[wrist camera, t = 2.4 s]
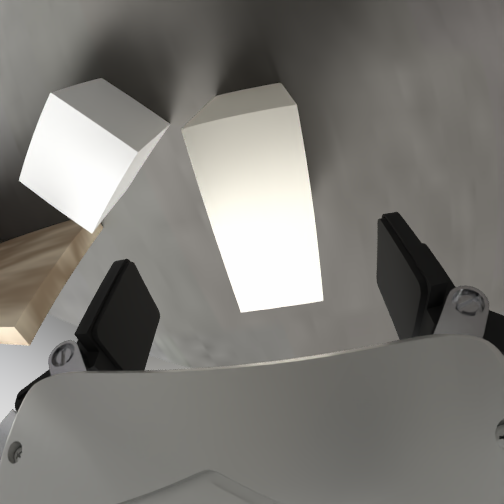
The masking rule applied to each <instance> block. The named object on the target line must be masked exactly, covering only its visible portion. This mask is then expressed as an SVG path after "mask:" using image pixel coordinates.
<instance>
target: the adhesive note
mask: <svg viewBox="0 0 504 504" xmlns="http://www.w3.org/2000/svg"><path fill="white" fill-rule="evenodd" d="M169 125H170V123H168V122H167V121H165V120H164V119H162V118H161V117H159V116H158V115H157V114H155V113H154V112H152V111H151V110H149V109H148V108H146V107H145V106H143V105H142V104H140V103H139V102H138V101H136V100H135V99H133V98H132V97H130V96H129V95H127V94H126V93H124V92H123V91H121V90H119V89H118V88H116V87H115V86H113V85H112V84H110V83H109V82H107V81H106V80H104V79H103V78H99V79H95V80H91V81H87V82H84V83H80V84H76V85H73V86H70V87H66V88H63V89H60V90H57V91H54V92H51V93H50V95H49V97H48V99H47V102H46V104H45V106H44V109H43V111H42V114H41V116H40V119H39V121H38V124H37V126H36V129H35V132H34V134H33V137H32V140H31V143H30V146H29V149H28V152H27V155H26V158H25V161H24V164H23V168H22V171H21V175H20V178H19V181H20V182H21V183H23V184H24V185H25V186H27V187H28V188H29V189H31V190H32V191H33V192H34V193H36V194H37V195H38V196H40V197H41V198H43V199H44V200H45V201H47V202H48V203H49V204H51V205H52V206H53V207H55V208H56V209H58V210H59V211H60V212H62V213H63V214H64V215H66V216H67V217H69V218H70V219H72V220H73V221H74V222H76V223H77V224H79V225H80V226H82V227H83V228H84V229H86V230H87V231H89V232H90V233H93V232H94V231H95V229H96V228H97V227H98V225H99V224H100V223H101V221H102V220H103V219H104V218H105V216H106V215H107V214H108V212H109V211H110V210H111V209H112V207H113V206H114V205H115V204H116V202H117V201H118V200H119V199H120V198H121V196H122V195H123V194H124V193H125V192H126V190H127V189H128V187H129V186H130V184H131V182H132V181H133V179H134V178H135V176H136V174H137V173H138V171H139V170H140V168H141V166H142V165H143V163H144V162H145V160H146V159H147V157H148V156H149V154H150V153H151V151H152V150H153V148H154V147H155V145H156V144H157V142H158V141H159V139H160V138H161V137H162V135H163V134H164V132H165V131H166V129H167V128H168V127H169Z"/></svg>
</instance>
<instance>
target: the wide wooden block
mask: <svg viewBox="0 0 504 504" xmlns="http://www.w3.org/2000/svg"><path fill="white" fill-rule="evenodd" d="M102 229H103V227H102V225H101V223H100V224H99V225H98V227H97V228H96V229H95V231H94V232H93V233H90V232H89V231H87V230H86V229H84V228H83V227H82V226H80V225H79V224H77V223H76V222H74V221H73V220H68V221H65V222H62V223H59V224H55V225H52V226H49V227H46V228H43V229H40V230H37V231H34V232H31V233H28V234H25V235H22V236H19V237H16V238H14V239H11V240H8V241H5V242H3V243H0V344H13V345H30V344H31V342H32V340H33V339H34V337H35V335H36V333H37V331H38V329H39V328H40V326H41V324H42V322H43V320H44V318H45V317H46V315H47V313H48V312H49V310H50V308H51V307H52V305H53V303H54V302H55V300H56V298H57V297H58V295H59V293H60V292H61V290H62V288H63V287H64V285H65V284H66V282H67V280H68V279H69V277H70V276H71V274H72V273H73V271H74V270H75V268H76V267H77V265H78V264H79V262H80V261H81V259H82V258H83V256H84V255H85V253H86V252H87V250H88V249H89V247H90V246H91V245H92V243H93V242H94V240H95V239H96V238H97V236H98V235H99V233H100V232H101V231H102Z"/></svg>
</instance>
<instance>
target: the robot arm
mask: <svg viewBox="0 0 504 504" xmlns="http://www.w3.org/2000/svg"><path fill="white" fill-rule="evenodd" d="M377 284H378V287H379V289H380V292H381V294H382V296H383V299H384V301H385V304H386V306H387V308H388V311H389V313H390V316H391V318H392V321H393V323H394V326H395V328H396V331H397V334H398V336H399V339H400V340H397V341H392V342H387V343H382V344H377V345H372V346H366V347H361V348H355V349H350V350H344V351H339V352H333V353H327V354H321V355H314V356H308V357H301V358H294V359H286V360H279V361H270V362H262V363H253V364H243V365H233V366H221V367H208V368H193V369H175V370H150V371H149V370H147V371H144V370H145V366H146V363H147V359H148V356H149V352H150V349H151V346H152V342H153V339H154V336H155V332H156V329H157V326H158V323H159V319H160V313H159V310H158V308H157V306H156V304H155V302H154V301H153V299H152V297H151V295H150V293H149V291H148V289H147V287H146V285H145V283H144V281H143V280H142V278H141V276H140V274H139V272H138V270H137V268H136V266H135V264H134V263H133V262H130V260H128V259H124V260H119V261H115V262H114V263H113V264H112V266H111V268H110V269H109V271H108V273H107V275H106V276H105V278H104V280H103V282H102V283H101V285H100V287H99V289H98V291H97V292H96V294H95V296H94V298H93V300H92V301H91V303H90V305H89V307H88V309H87V311H86V313H85V315H84V317H83V318H82V320H81V322H80V324H79V326H78V328H77V331H76V332H75V336H76V337H77V338H78V341H77V343H76V342H75V341H72V340H68V341H64V342H62V343H60V344H59V345H58V346H56V347H55V348H54V350H53V351H52V352H51V354H50V356H49V361H48V364H49V370H48V371H46V372H45V373H44V374H42V375H41V376H40V377H38V378H37V379H36V380H34V381H33V382H32V383H30V384H29V385H28V386H26V387H25V388H24V389H22V390H21V391H20V392H19V393H18V395H17V398H16V402H15V408H16V411H14V410H13V409H12V410H11V411H10V413H9V414H8V415H7V416H6V417H5V419H4V420H3V421H2V422H1V424H0V504H504V316H503V315H500V314H498V313H495V312H492V311H490V310H489V301H488V299H487V297H486V296H485V294H484V293H483V292H481V291H480V290H479V289H477V288H474V287H471V286H458V287H455V286H454V284H453V283H452V281H451V280H450V278H449V277H448V275H447V274H446V272H445V271H444V269H443V268H442V266H441V265H440V263H439V262H438V260H437V259H436V258H435V256H434V255H433V253H432V252H431V251H430V249H429V248H428V246H427V245H426V244H424V243H421V242H420V240H419V239H418V238H417V236H416V235H415V234H414V232H413V231H412V230H411V228H410V227H409V226H408V224H407V223H406V222H405V220H404V219H403V218H402V216H401V215H400V214H399V213H398V212H394V213H388V214H383V215H382V218H381V219H378V247H377Z"/></svg>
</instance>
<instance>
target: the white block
mask: <svg viewBox="0 0 504 504" xmlns="http://www.w3.org/2000/svg"><path fill="white" fill-rule="evenodd" d="M181 131H182V134H183V137H184V141H185V144H186V147H187V150H188V154H189V157H190V160H191V163H192V166H193V170H194V173H195V176H196V179H197V182H198V185H199V189H200V192H201V195H202V198H203V201H204V204H205V207H206V210H207V213H208V216H209V220H210V223H211V226H212V229H213V232H214V235H215V238H216V241H217V244H218V247H219V250H220V253H221V256H222V259H223V262H224V265H225V267H226V270H227V273H228V276H229V279H230V282H231V285H232V288H233V291H234V294H235V297H236V299H237V302H238V305H239V308H240V311H241V312H248V311H255V310H263V309H271V308H278V307H285V306H292V305H299V304H305V303H312V302H318V301H323V293H322V282H321V271H320V261H319V252H318V243H317V234H316V226H315V218H314V210H313V203H312V195H311V188H310V181H309V174H308V168H307V161H306V155H305V149H304V143H303V137H302V131H301V125H300V119H299V114H298V108H297V104H296V103H295V101H294V100H293V99H292V97H291V96H290V94H289V93H288V92H287V90H286V89H285V88H284V86H283V85H282V84H281V83H276V84H270V85H264V86H259V87H254V88H249V89H244V90H239V91H235V92H230V93H226V94H221V95H217V96H215V97H214V98H213V99H212V100H211V101H210V102H209V103H208V104H206V105H205V106H204V107H203V108H202V109H201V110H200V111H199V112H198V113H197V114H196V115H195V116H194V117H193V118H192V119H191V120H190V121H189V122H188V123H187V124H186V125H185V126H184V127H183V128H182V129H181Z"/></svg>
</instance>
